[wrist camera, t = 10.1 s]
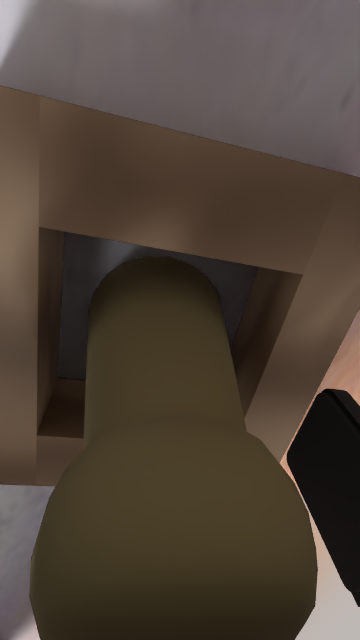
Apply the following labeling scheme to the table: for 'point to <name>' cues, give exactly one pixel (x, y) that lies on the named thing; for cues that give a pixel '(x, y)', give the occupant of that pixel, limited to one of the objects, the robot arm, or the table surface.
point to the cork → (169, 484)
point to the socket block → (169, 234)
